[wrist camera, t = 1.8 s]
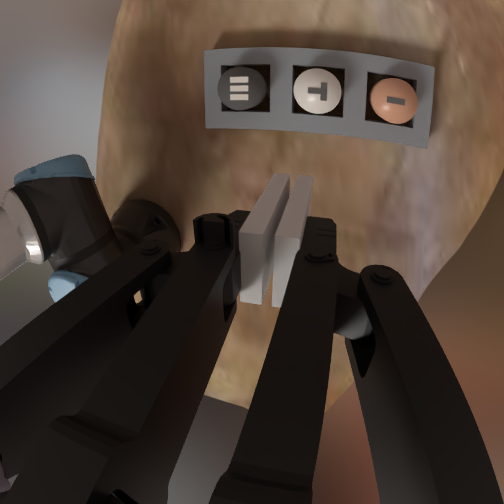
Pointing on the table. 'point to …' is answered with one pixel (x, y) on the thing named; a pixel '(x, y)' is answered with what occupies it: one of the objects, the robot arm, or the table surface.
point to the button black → (242, 88)
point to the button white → (317, 91)
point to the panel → (289, 120)
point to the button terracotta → (393, 100)
